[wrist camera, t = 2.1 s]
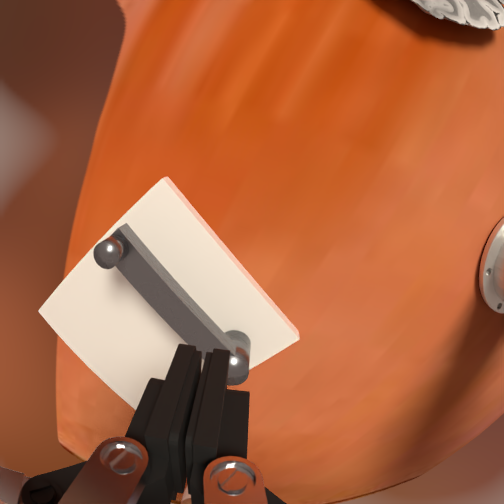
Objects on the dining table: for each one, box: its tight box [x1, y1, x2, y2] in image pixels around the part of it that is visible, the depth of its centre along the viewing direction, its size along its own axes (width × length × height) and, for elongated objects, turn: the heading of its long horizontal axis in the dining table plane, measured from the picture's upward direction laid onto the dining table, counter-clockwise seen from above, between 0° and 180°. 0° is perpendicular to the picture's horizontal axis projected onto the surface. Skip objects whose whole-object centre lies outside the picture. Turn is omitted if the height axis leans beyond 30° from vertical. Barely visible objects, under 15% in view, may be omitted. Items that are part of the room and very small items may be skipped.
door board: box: [38, 177, 300, 410], centre depth 28 cm, size 19×22×6 cm
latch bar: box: [93, 223, 251, 385], centre depth 25 cm, size 16×3×6 cm, turn 39°
